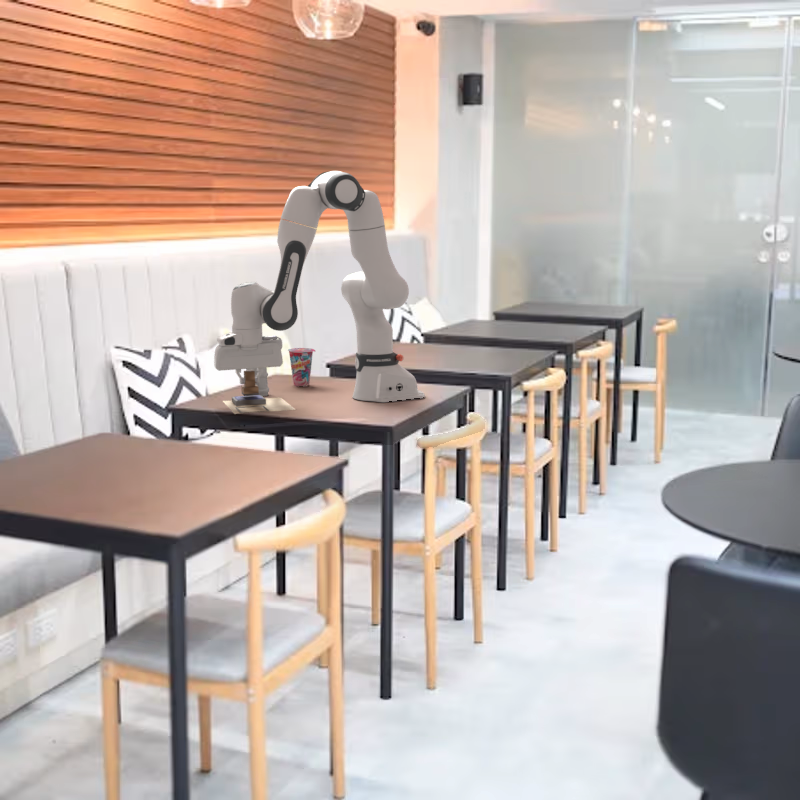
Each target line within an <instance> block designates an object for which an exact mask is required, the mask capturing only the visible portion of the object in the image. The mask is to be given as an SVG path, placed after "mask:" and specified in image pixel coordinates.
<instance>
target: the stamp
mask: <svg viewBox="0 0 800 800" xmlns="http://www.w3.org/2000/svg"><path fill="white" fill-rule="evenodd" d="M243 377H244V378H245V384H242V385H241V387H240V389H241V395H242V396H251V395H259V388H258V386H257V385H255V371H253V370H248V371H246V370H243Z"/></svg>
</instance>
